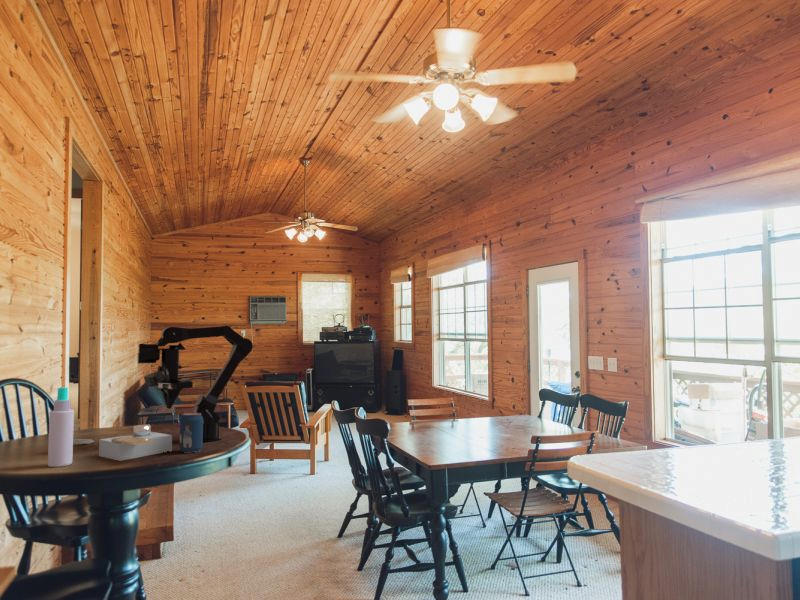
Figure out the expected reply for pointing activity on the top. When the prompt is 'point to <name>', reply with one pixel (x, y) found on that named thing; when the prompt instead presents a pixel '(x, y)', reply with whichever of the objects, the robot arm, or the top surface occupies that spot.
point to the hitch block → (134, 447)
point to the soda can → (191, 432)
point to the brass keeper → (133, 440)
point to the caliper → (82, 441)
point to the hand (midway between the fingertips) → (169, 408)
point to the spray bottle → (61, 431)
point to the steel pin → (142, 430)
